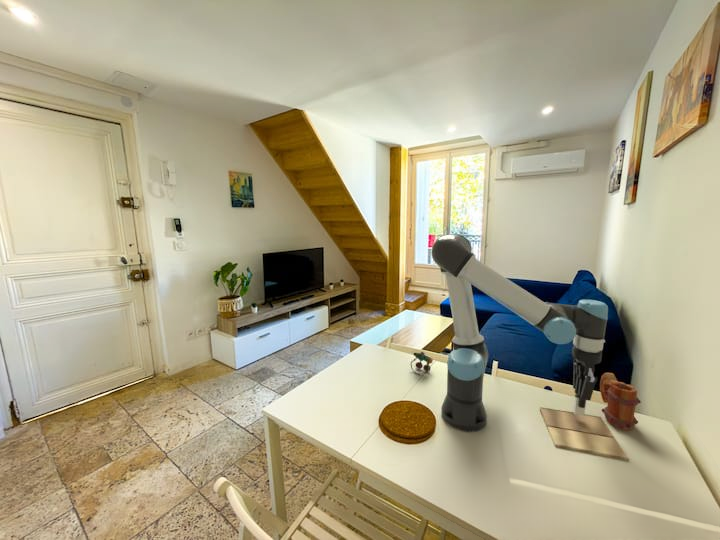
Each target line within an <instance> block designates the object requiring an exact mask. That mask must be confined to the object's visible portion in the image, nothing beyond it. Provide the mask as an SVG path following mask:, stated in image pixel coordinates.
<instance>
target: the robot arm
mask: <svg viewBox="0 0 720 540" xmlns="http://www.w3.org/2000/svg"><path fill="white" fill-rule="evenodd" d="M472 250H473V247H472V244H471V242H470V240H469V239H468V238H467V237H466V236H464V235H462V234H460V233H450V234H447V235H443V236H440V237H439V238H437V239H436V241H434V242H433V245H432V248H431V258H432V259H433V262H434V263H435V264H436V265H437V266H438V267H439V268H440V272H441V274H443V275H444V276H445V280H446V286H447V291H448V299H449V305H450V310H451V316H452V322H453V328H454V335H453V338H452V339H451V341H452V347H453V350H452V351H451V352H450V353H449V355H448V357H447V361H446V363H447V374H446V375H447V379H446V382H447V384H446V395H445V398H444V400H443V402H442V405H441V410H440V411H441V417H442V419H443V421H444V422H445V423H446V424H447V425H449V426H450V427H452V428H454V429H456V430H459V431H463V432H468V433H469V432H473V433H474V432H478V431H481V430H483V429H484V428H485V427H486V426H487V421H488V416H487V411H486V409H485V405H484V403H483V401H484V400H483V391H484V390H483V389H484V388H483V387H484V376H485V372H486V368H487V363H488V361H489V351H488V348H487V345H486V343H485V338H484V336H483V335H481V334H480V333H479V325H478V319H477V314H476V307H475V301H474V300H475V299H474V295H473V289H472V286H473V287H474V288H477V289H478V290H479V291H481V292H483V293H484V294H485V295H487V296H489V297H491V299H493V300H494V301H496V302H498V303H499V304H501V305H502V306H503V307H505V308H507V309H508V310H510V311H511V312H513V313H514V314H516V315H517V316H519V317H520V318H522V319H523V320H525V321H526V322H527V323H528V324H531V325H533V327H535V328H536V329H538V330H539V331H541V332H542V333H543V335H544V336H545V337H546V339H548V340H549V341H550V342H551V343H554V344H556V345H566V344H569V343H571V342H572V344H573V346H572V352H571V356H572V357H573V358H574V359H572V362H573V363H572V364H573V373H572V374H573V376H572V377H573V378H572V389H573V390H574V393H575V394H574V399H573V400H574V401H573V402H574V403H573V409H572V412H574V414H576V415H582V416H584V414H585V413H586V412H585V411H586V406H587V401H591V400H592V396H593V392H594V389H595V385H596V383H597V382H598V376H594V374H595V372H596V371H595V370H596V369H595V365H598V364H600V363H601V362H602V357H603V349H604V343H606V340H605V335H606V330H607V329H606V328H607V322H608V319H609V318H608V317H609V316H608V315H609V314H608V313H609V307H608V305H607V304H606V303H605V302H603V301H599V300H594V299H580V300H579V301H578V303H577V305H572V304H571V305H570V304H562V303H554V302H548V301H546V302H544V301H543V300H541V299H540V298H538V297H537V296H536V295H534V294H532V293H531V292H528V290H526V289H524V288H522V287H521V286H520V285H518V284H517V283H515V282H513V281H512V280H510V279H508V278H506V277H505V276H504V275H502V274H501V273H499V272H497V271H496V270H494V269H493V268H491V267H489V266H488V265H486V264H485V263H483V262H481V260H478V258H476V254H475V253H473V252H472Z"/></svg>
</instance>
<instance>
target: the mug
mask: <svg viewBox="0 0 720 540" xmlns="http://www.w3.org/2000/svg"><path fill="white" fill-rule="evenodd" d="M599 391H600V392H599V393H600V396H601V399H602V401H603V403H605V404H607V406H605V407H604V408H601V412H602V413H603V415H604V416H605V417H604V418H605V419H606V421H607V423H608V424H610V425H612V426H613V427H614V428H617V429H620V430H623V431H631V430H632V429H633V427H635V426H636V425H638V423H639V421H638V420H637V418H636V417H635V411H636V407H637V406H638V404H641V400H640V399H639V398H638V390H637V389H636V387H634V386H633V385H631V384H627V383H625V382H622V381H618V379H617V378H616V376H615V374H614V373H613V372H604V373H603V374H602V375H601V378H600V381H599Z"/></svg>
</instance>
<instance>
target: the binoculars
mask: <svg viewBox="0 0 720 540" xmlns="http://www.w3.org/2000/svg"><path fill="white" fill-rule="evenodd" d="M412 355H413V356H414V357H415V358H414V359H413V360H412V361H411V362H410V368H411V370H412V371H413V372H414V373H415V374H417V375H419V373H418V372H416V371H415V370H414V369H413V366H412V365H413V362H416V360H418V361H417V362H416V363H415V367H416V369H418V370H420V369H423V371H425V372H424V373H423V375H426V374H427V373H428V372H430V371H431V366H430V364H432V363H433V362H434V361H433V357H430V356H428V355H425V352H424V351H420V353H419V352H413V354H412ZM423 361H424V362H426V364H424V365H423V363H422V362H423Z"/></svg>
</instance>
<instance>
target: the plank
mask: <svg viewBox="0 0 720 540" xmlns="http://www.w3.org/2000/svg"><path fill="white" fill-rule="evenodd" d="M539 412H540V415H541V417H542V418H543V421H544V423H545V427H546V428H547V426H548V427H554V428H559V429H565V430H571V431H576V432H582V433H588V434H593V435H599V436H604V437H610V438H615V436H614V435H613V433H612V431H611V430H610V429H609V427H608V426H607V424H606V423H605V420H604V419H603V418H602V416H597V415H593V414H584V416H582V415H576V414H574V412H573V411H566V410H561V409H555V408H547V407H541V406H539Z"/></svg>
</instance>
